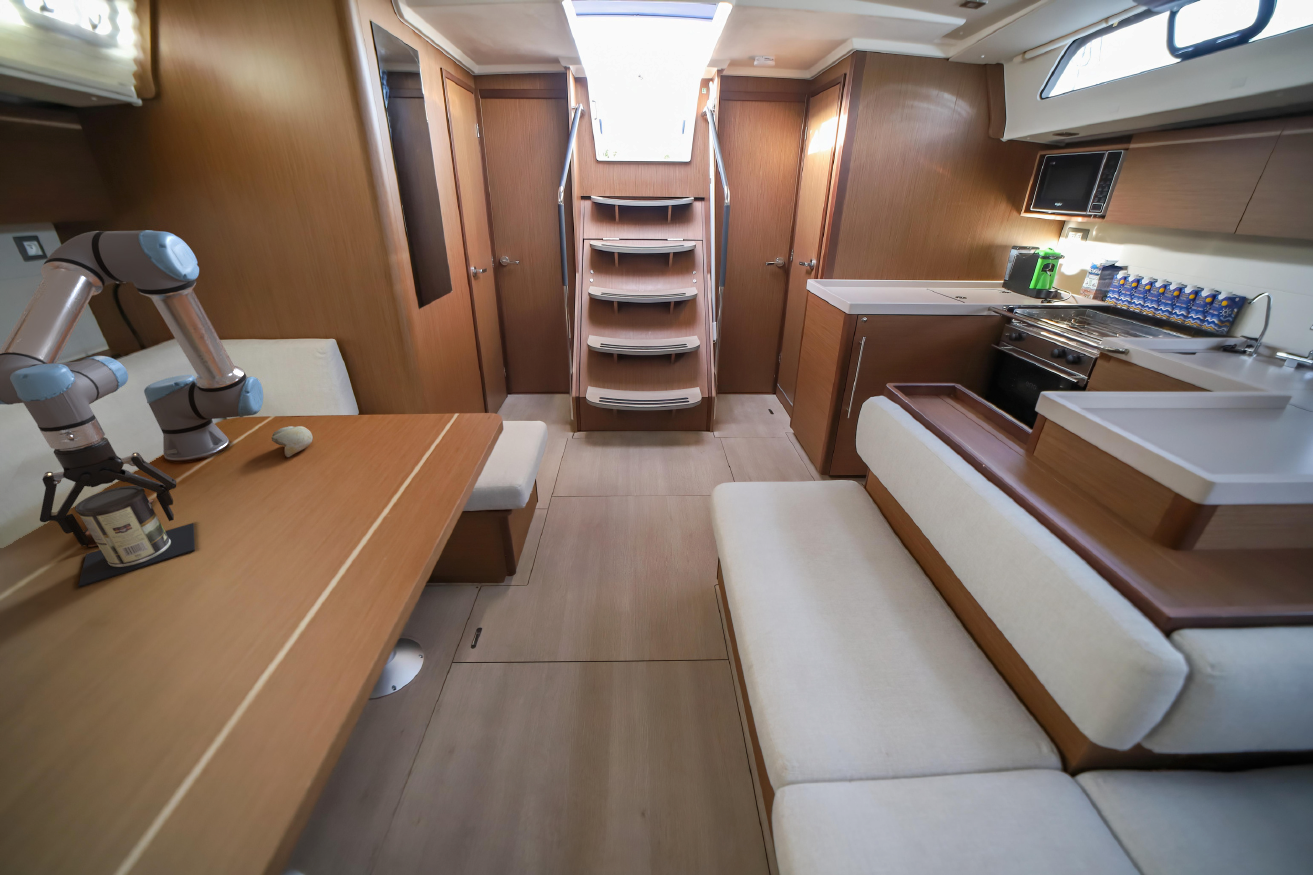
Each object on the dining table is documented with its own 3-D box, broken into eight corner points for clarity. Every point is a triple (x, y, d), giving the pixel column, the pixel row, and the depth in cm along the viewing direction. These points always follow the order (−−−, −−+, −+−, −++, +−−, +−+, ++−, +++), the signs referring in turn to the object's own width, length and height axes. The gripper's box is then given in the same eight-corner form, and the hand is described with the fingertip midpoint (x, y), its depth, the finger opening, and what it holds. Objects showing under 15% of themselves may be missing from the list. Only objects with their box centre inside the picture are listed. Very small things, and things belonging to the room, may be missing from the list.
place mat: (87, 555, 110) (86, 554, 109) (193, 524, 120) (193, 522, 120) (78, 587, 101) (77, 586, 101) (194, 550, 111) (194, 549, 111)
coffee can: (152, 533, 116) (124, 481, 110) (182, 543, 113) (155, 490, 107) (95, 561, 107) (62, 506, 101) (126, 572, 104) (93, 516, 98)
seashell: (267, 424, 154) (303, 414, 158) (279, 445, 159) (315, 434, 163) (267, 444, 145) (306, 432, 149) (280, 465, 150) (318, 453, 154)
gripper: (-24, 471, 89) (41, 563, 98) (163, 431, 103) (204, 515, 113) (-13, 455, 94) (48, 544, 103) (164, 420, 108) (203, 501, 118)
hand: (129, 529), depth 108 cm, fingers open, 13 cm apart
